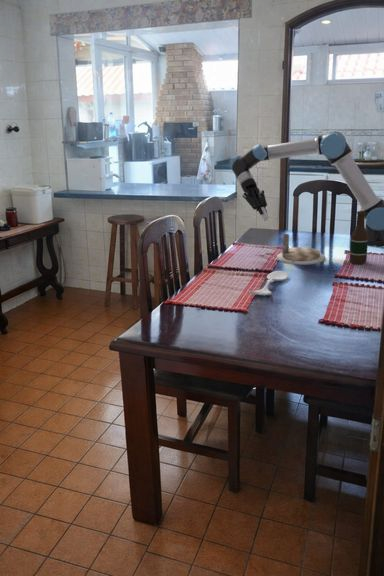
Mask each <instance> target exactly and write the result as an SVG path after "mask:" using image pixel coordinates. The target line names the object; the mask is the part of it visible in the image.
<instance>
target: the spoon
mask: <svg viewBox="0 0 384 576" xmlns="http://www.w3.org/2000/svg"><path fill="white" fill-rule="evenodd" d="M288 278H289V274H288V272H287V271H284V270H275V271H272V272H269V274H267V275H266V279H267V280H266V282H265V285H264V286H263V288H260V289H257V290H249V291H248V294H251V295H256V296H271V295H272V291H271V290H269V286H270V284H272V283H274V282H281V281H282V282H283V281H285V280H286V279H288Z"/></svg>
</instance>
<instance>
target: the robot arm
mask: <svg viewBox="0 0 384 576" xmlns="http://www.w3.org/2000/svg"><path fill="white" fill-rule="evenodd" d="M352 153H353V151H352V149H351V147H350V146H349V144H348V141H347V140H346V137H345V136H344V135H343V134H342V133H341V132H338V131H332V132H329V133H326V134H321V135H317V137H316V138H308V139H303V140H302V139H301V140H296V141H295V140H294V141H289V142H283V143H275V144H270V145H269V144H268V145H262V144H259V143H258V144H256V145H255V146H253V147H252V148H251V149H250V150H249V151H248V152H247V153H245V154H244V155H243V156H241V155H240V154H239V155H235V156H233V157H231V159H230V160H229V166H230V167H231V170H232V172H233V174H234V175H235V178H236V179H237V181H238V183H239V185H240V186H241V189H242V191H243V194H242V198H243V199H245V201H246V202H247V203H248V204H249V206H250V207H251V208H252V209H253V210H254V211H256V212H258V213H259V215H261V217H262V219H263V221H264V222H266V221H268V220H269V218H270V216H269V214H268V211H267V209H266V207H267V206H268V202H267V200H266V195H265V190H260V189H259V187H258V186H257V183H256V180H255V179H254V177H253V175H252V173H251V171H250V170H251V169H252V168H253V167H255V166H256V165H257V164H259V163H261V162H265V161H270V160H279V159H285V158H292V157H300V156H306V155H313V154H314V155H315V154H317V155H319V156H322V155H323V156H324V157H325V158H326V159H327V161H328V163H329V164H330V165H331V166H334V167H335V168H336V169H337V171H338V173H340V175H341V177H342V178H343V180H344V181H345V184H346V185H347V187H348V188H349V189H350V191H351V193H352V194H353V196H354V198H355V199H356V201H357V203H358V204H359V206H360V209H359V211H364V212H365V230H366V231H367V234H368V246H371V247H383V246H384V199H382V197H379V196H377V194H376V193H375V192H374V190H373V188H372V186H371V185H370V184H369V181H368V180H367V179H366V177H365V175H364V174H363V173H362V171H361V169H360V168H359V166H358V165H357V162H356V161H355V160H354V158H353V157H352Z"/></svg>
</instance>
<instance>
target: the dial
mask: <svg viewBox="0 0 384 576" xmlns="http://www.w3.org/2000/svg"><path fill="white" fill-rule="evenodd" d="M281 246H282V249H281V253H282V257H283V258H285V259H288V260H294V261H310V260H315V259H318V258H319V257H320V253H321V251H320V250H318V249H317V248H311V247H302V246H300V247H299V246H298V247H289V246H290V234H289V233H282V245H281Z"/></svg>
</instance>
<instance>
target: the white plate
mask: <svg viewBox="0 0 384 576" xmlns="http://www.w3.org/2000/svg"><path fill="white" fill-rule="evenodd" d="M277 258H278V260H279V261H278V260H277V261H278V262H281V263H283V264H288V265H294V266H295V265H296V266H308V265H309V266H311V265H317V264H321V263H323V262H324V261H325V260H326V256H325V255H324V254H323V253H321V252H320V257H319V258H318V259H315V260H310V261H294V260H288V259H285V258H283V257H282V252H280V253H278V254H277V255H276V259H277Z"/></svg>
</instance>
